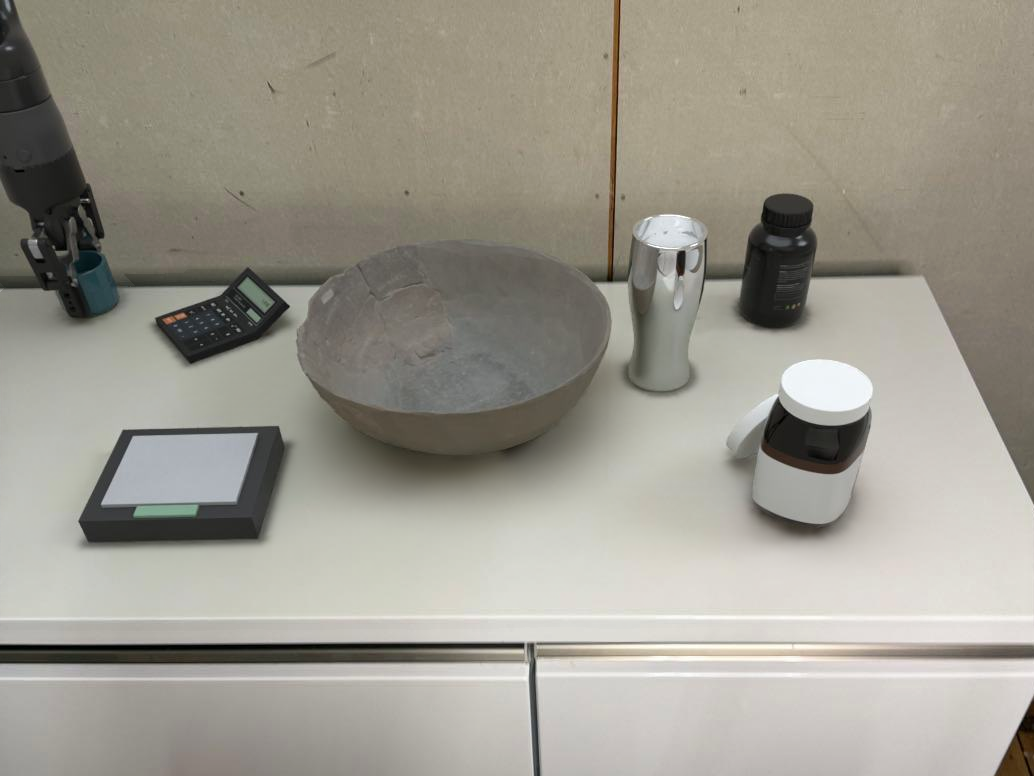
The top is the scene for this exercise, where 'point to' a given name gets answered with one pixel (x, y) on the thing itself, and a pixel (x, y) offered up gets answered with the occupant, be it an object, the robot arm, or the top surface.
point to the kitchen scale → (184, 484)
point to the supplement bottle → (779, 262)
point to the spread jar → (807, 442)
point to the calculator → (224, 318)
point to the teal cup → (94, 282)
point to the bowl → (454, 344)
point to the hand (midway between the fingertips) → (90, 299)
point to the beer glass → (664, 297)
